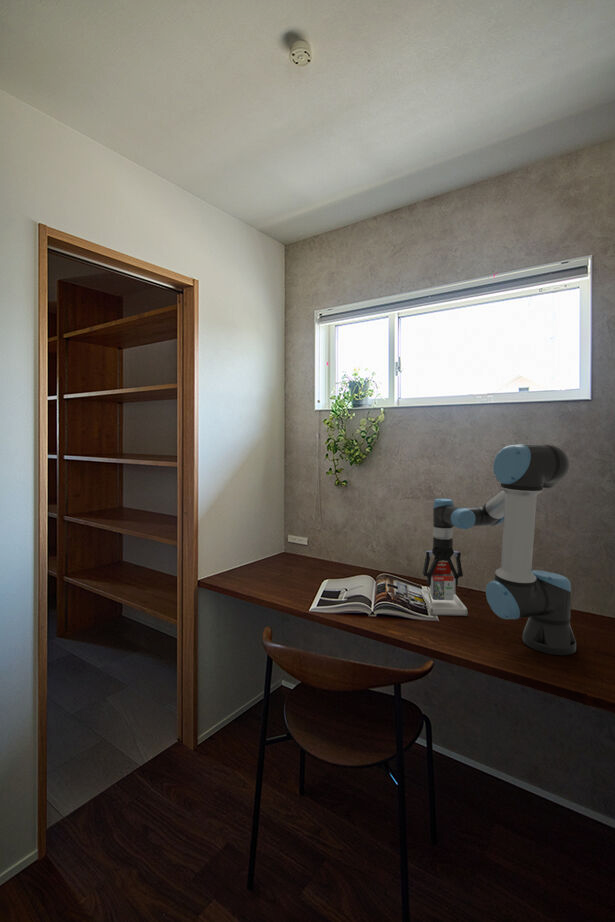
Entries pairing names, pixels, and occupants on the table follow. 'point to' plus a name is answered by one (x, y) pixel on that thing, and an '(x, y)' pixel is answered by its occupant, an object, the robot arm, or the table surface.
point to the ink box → (442, 582)
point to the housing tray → (445, 606)
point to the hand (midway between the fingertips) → (442, 593)
